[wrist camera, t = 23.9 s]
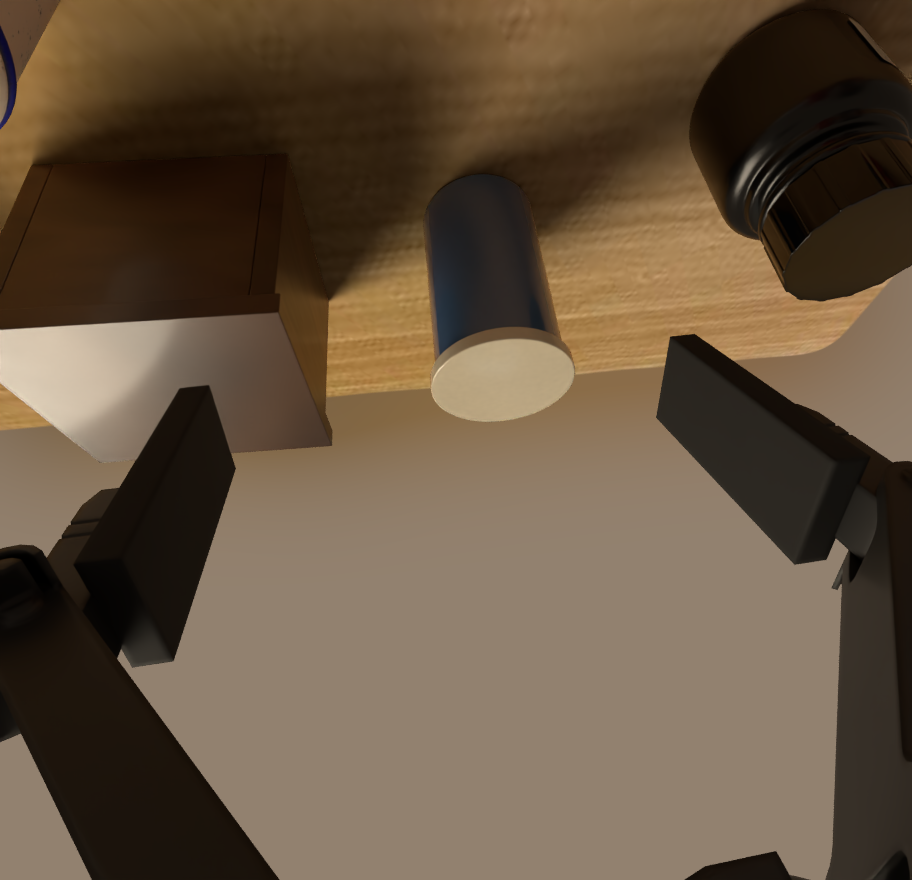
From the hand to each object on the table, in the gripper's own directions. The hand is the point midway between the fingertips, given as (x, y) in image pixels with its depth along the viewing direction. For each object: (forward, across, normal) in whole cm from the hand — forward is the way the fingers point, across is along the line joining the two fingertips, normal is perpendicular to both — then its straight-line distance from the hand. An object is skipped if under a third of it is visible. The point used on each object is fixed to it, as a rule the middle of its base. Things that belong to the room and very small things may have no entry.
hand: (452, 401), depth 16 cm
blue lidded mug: (+25, +5, -1) cm, 25 cm away
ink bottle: (+19, +21, +7) cm, 29 cm away
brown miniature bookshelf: (+25, -13, 0) cm, 28 cm away
